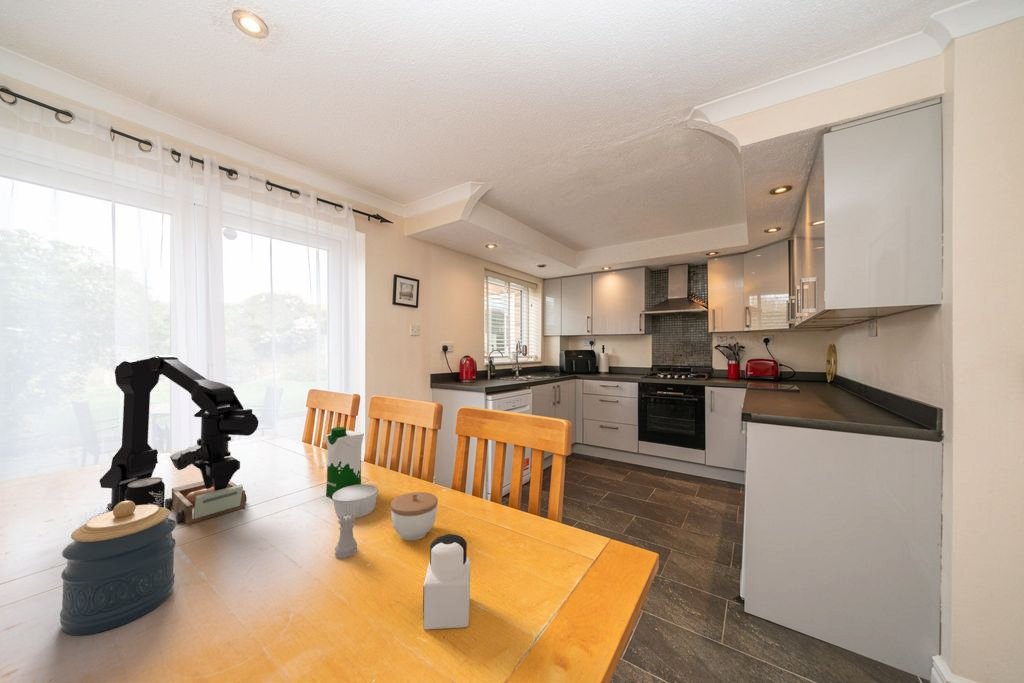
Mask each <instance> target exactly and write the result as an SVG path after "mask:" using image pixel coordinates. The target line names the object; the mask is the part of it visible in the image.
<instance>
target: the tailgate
mask: <svg viewBox="0 0 1024 683" xmlns="http://www.w3.org/2000/svg"><path fill="white" fill-rule="evenodd" d="M236 485H237V486H233V487H229V488H225V489H221V490H217V491H213V492H209V493H205V494H201V495H197V496H196V501H195V508H194V515H193V517H194V519H195V518H199V517H202V516H206V515H209V514H212V513H216V512H219V511H223V510H226V509H230V508H233V507H237V506H240V502H241V496H242V490H244V485H243V484H241V483H240V484H236Z"/></svg>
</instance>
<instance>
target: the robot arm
mask: <svg viewBox="0 0 1024 683" xmlns="http://www.w3.org/2000/svg"><path fill="white" fill-rule="evenodd" d="M114 375H115V383H116V384H115V385H116V386H117V387H118V388H119V389H120V391H121V392H122V393H123V408H122V409H123V411H122V430H121V432H122V433H121V447H120V448H119V449H118V450H117V452H116V453H115V455H114V456H113V457H112V460H111V465H110V468H109V470H107V471H106V472H105V474H104V475H103V476H102V477H100V479H99V484H100V488H103V489H111V497H110V498H111V499H110V500H111V501H110V503H107V504H106V505H107V508H108V509H109V512H110V511H113V509H114V507H115V506H116V505H117V504H118V503H120V502H123V501H125V491H126V489H127V488H128V484H129V483H131V482H134V481H137V480H141V479H145V478H153V473H154V471H155V469H156V466H157V464H158V463H159V460H158V455H159V454H158V453H159V451H158V449H157V448H155V449H154V448H152V447H151V445H150V444H149V428H150V427H149V424H150V404H151V403H150V401H151V392H152V390H154V388H155V387H156V386H157V384H158V383H159V381H160V376H162V375H163V376H164V377H166V378H167V379H168V380H171V381H172V382H173V383H175V384H176V385H178V386H179V387H181V388H182V389H184V390H185V391H187V392H188V393H189V394H190V398H191V400H192V402H193V403H194V404H195V405H196V406H197V407H198V408H199V409H200V410H199V411H197V412H196V413H194V414H193V417H195V418H201V421H200V422H201V424H200V437H199V438H198V439H196V444H195V445H192V446H189V447H187V448H185V449H182V450H180V451H178V452H175V453H173V454H171V455H169V458H170V461H171V462H172V464H173V466H174V468H175V469H177V470H178V471H182V470H184V469H186V468H187V467H188V466H190V465H192V466H193V467H196V468H197V469H199V470H200V474H201V477H202V481H204V484H205V488H206V489H209V488H211V487H212V485H214V490H215V491H217V490H221V489H225V488H226V487H227V485H228V483H229V481H232V480H231V479H232V478H233V476H234V474H236V472H238V470H240V469H241V461H240V460H238V459H237V458H235V457H233V456H231V455H232V454H231V451H230V450H229V442H230V441H231V442H232V437H231V436H245V437H247V436H251V435H253V434H254V433H255V432H256V431H257V429H258V426H259V420H258V417H257V416H256V414H254V413H253V409H252V408H247V409H246V408H244V407H243V405H242V403H241V401H240V400H239V398H238V397H237V395H236V393H235V390H234V388H232V387H231V386H229V385H227V384H224V383H221V382H218V381H213V380H210V379H208V378H206V377H204V376H203V375H202V374H200V373H198V372H197V371H195V370H194V369H192V368H191V367H189V366H188V365H186V364H185V363H183V362H182V361H180V360H179V358H178V357H176V356H175V355H156V356H153V357H149V358H145V359H139V360H125V361H122V362H120V363H119V364H118V365H116V367H115V370H114Z"/></svg>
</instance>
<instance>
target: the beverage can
mask: <svg viewBox="0 0 1024 683" xmlns="http://www.w3.org/2000/svg"><path fill="white" fill-rule="evenodd" d="M165 486H166V485H165V482H164V481H163V477H160V476H155V477H154V476H152V477H151V478H145V479H141V480H137V481H134V482H131V483H129V484H128V488H127V489H126V491H125V501H132V502H134V503H135V506H137V505H157V506H159V507H162V508H165V493H166V492H165V490H166V487H165Z"/></svg>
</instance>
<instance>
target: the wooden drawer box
mask: <svg viewBox="0 0 1024 683" xmlns="http://www.w3.org/2000/svg"><path fill="white" fill-rule="evenodd" d="M237 485H238V484H236V483H234V482H233V481H232V480H230V481H229V483H228V485H227V487H226V488H229V487H233V486H237ZM212 487H214V485H212ZM202 489H206V488H205V484H204V481H203V480H202V481H201V480H200V481H197V482H193V483H188V484H184V485H180V486H175V487H171V497H169V498H164V508H166V509H168V510H169V509H172V510H173V511H174V512H175V520H176V521H175V522H176V523H179V522H184V524H186V525H191V524H193V523H196V522H200V521H202V520H205V519H207V520H208V519H210V518H213V517H217V516H220V515H223V514H226V513H230V512H234V511H236V510H239V509H243V508H245V507H246V506H245V505H246V503H247V499H248V498H247V494H246V490H245V489H243V490H242V496H241V502H240V506H237V507H233V508H230V509H226V510H223V511H219V512H216V513H212V514H209V515H206V516H202V517H199V518H195V519H194V517H193V515H194V508H195V504H191V503H190V502H189V501H188V500H187V499H186V496H187V495H188V494H189V493H191V492H194V491H198V490H202Z"/></svg>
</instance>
